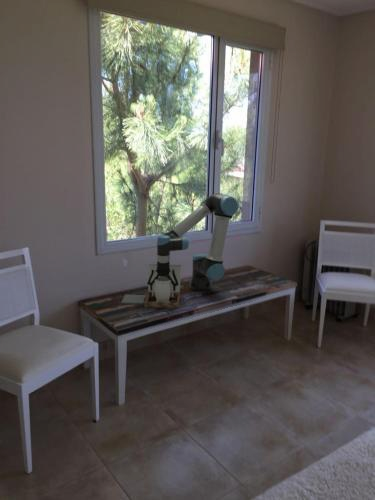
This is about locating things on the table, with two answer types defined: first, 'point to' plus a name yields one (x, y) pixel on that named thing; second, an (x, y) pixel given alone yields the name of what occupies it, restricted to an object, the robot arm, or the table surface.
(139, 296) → the slate tile
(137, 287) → the table surface
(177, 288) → the lid
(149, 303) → the cold frame
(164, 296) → the jar
